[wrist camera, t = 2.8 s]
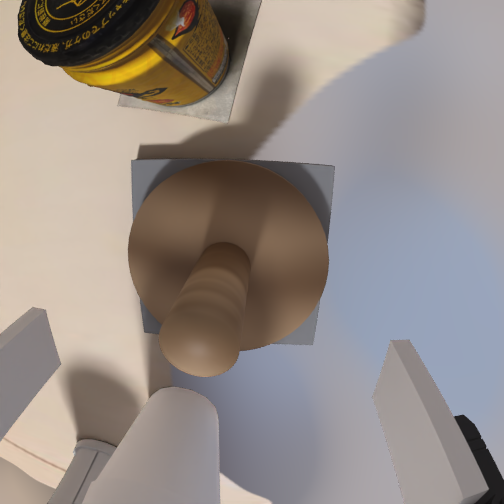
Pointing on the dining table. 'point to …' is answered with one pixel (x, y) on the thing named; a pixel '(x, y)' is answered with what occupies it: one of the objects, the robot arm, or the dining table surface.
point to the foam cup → (164, 455)
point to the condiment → (146, 49)
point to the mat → (299, 174)
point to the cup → (82, 471)
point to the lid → (226, 262)
